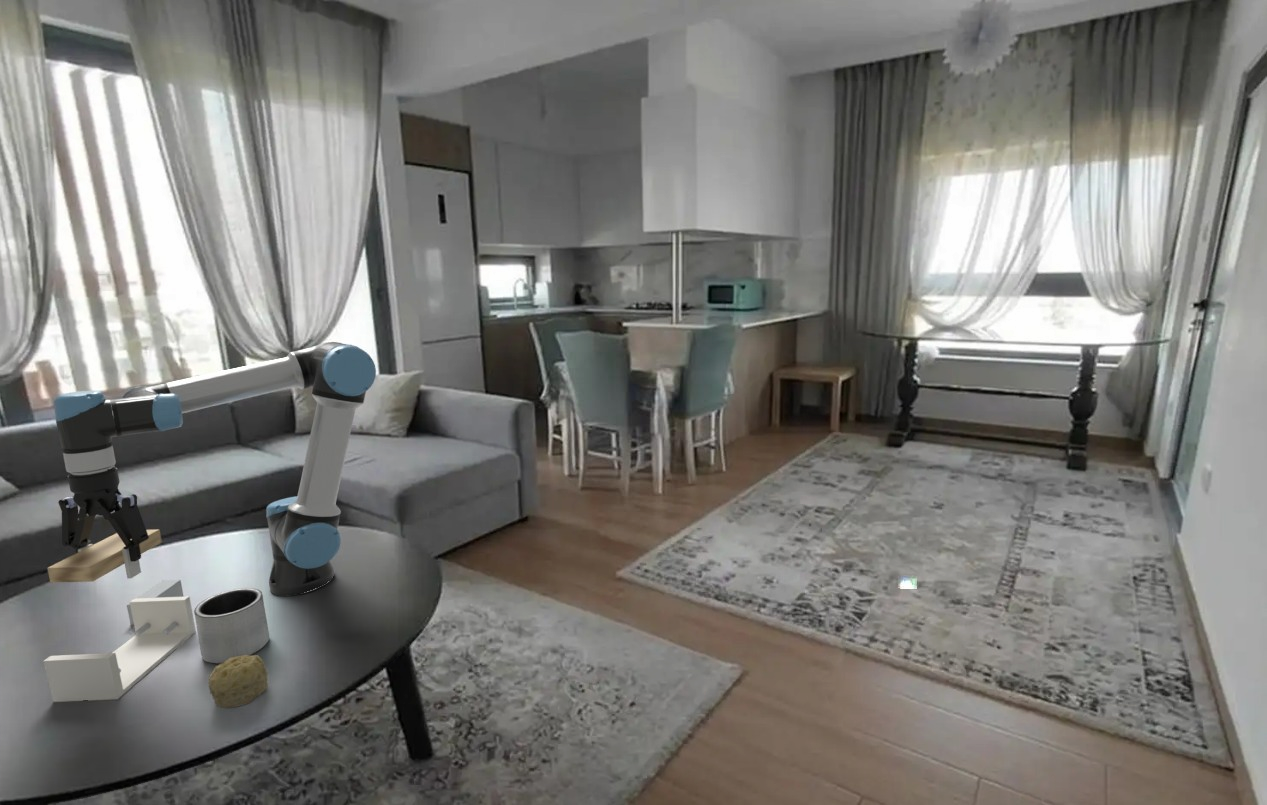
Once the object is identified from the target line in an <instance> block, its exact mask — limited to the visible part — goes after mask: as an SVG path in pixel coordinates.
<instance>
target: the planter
mask: <svg viewBox="0 0 1267 805" xmlns="http://www.w3.org/2000/svg"><path fill="white" fill-rule="evenodd" d="M193 612H194V617H195V619H194V620H195V624H196V629H197V630H196V631H197V637H198V643H199V650H200V655H201V657H202V658H201V659H203V660H204V661H205V662H206V663H207V662H208V663H211V664H218V665H219V664H221V663H223V662H225V661H226V660H228V659H229V658H231V657H237V656H239V657H240V656H242V655H249V656H252V655H255V654H256V653H257V652H259V651H260V650H261V649H263V647H264V646H265V645H266V644H267V643H268V641H269V640H270V630H269V626H268V620H267V614H266V607H265V604H264V594H263V592H262V591H261V590H260V589H258V588H253V587H241V588H234V589H230V590H226V591H221V592H219V593H217V594H214V595H212V596H210V597H208V598H206V599H204V600H202V601H201V602H200V603H199V604H197V605H196V607H194V611H193Z"/></svg>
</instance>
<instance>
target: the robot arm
mask: <svg viewBox="0 0 1267 805" xmlns="http://www.w3.org/2000/svg"><path fill="white" fill-rule="evenodd" d="M376 370H377V369H376V364H375V361H374V360H373V358H372V357H371V356H370V354H369V353H368V352H367V351H365V350H363V349H362V348H360V347H359V346H356V345H353V344H349V343H348V344H347V343H342V342H337V341H336V342H335V341H330V342H329V341H328V342H324V343H320V344H317V345H313V346H310V347H306V348H302V349H299V350H294V351H290V352H288V354H287V355H286V357H282V358H277V359H273V360H267V361H262V362H259V363H254V364H249V365H245V366H239V367H235V368H231V369H230V368H229V369H224V370H221V371H220V370H219V371H216V372H212V373H206V374H202V375H197V376H193V377H187V378H183V379H179V380H174V381H169V382H168V381H167V382H166V383H160V384H156V385H150V386H147V385H146V386H144V385H142V386H136V387H132V388H130V389H129V390H127V391H126V392H125V393H124V394H123V396H122V398H115V399H106V397H105V396H104V393H103V392H102V391H100V390H80V391H79V390H78V391H72V392H65V393H61V394H58V395H56V397H55V398H54V399H53V407H54V416H55V423H56V427H57V428H56V429H57V433H58V436H59V441H60V445H61V449H62V455H63V461H64V466H65V471H66V472H67V473H69V474H68V475H67V480H68V486H69V491H70V492H71V493H73V495H70V496H67V497H64V498H61V499H59V500H58V503H57V504H58V505H59V506H58V507H59V508H60V511H61V541H62V542H61V543H62V546H64V547H68V546H69V547H71V548H73V549H74V551H75V554H76V553H78V552H80V551H82V550H84V549H86V548H88V547H90V546H92V545H94V544H93V543H91V542H92V540H90V536H91V533H92V530H93V526H94V522H95V518H96V516H102V517H103V519H104V520H106V521H108V522H109V523H110V525H111V527H112V528H113V529H114V532H116V533H117V534H118V535H119V537H120V538H121V540H122V541H123V543H124V544H125V547H123V548H122V553H123V558H124V563H125V564H124V567H125V573H126V577H127V579H128V580H129V579H132V578H134V577H136V576H138V575H139V574H141V573H142V570H141V569H142V568H141V563H140V559H142V554H141V552H140V546H139V544H140V543H142V542H144V541H145V540H147V539H148V538H149V536H148V533H147V531H146V530H147V528H146V525H145V522H144V521H143V518H142V515H141V513H140V510H139V509H140V508H139V507H138V496H137V494H133V493H132V494H131V495H125V494H122V493H121V492H120V489H119V484H120V477H119V476H120V475H119V472H118V468H117V467H116V466H115V465H116V463H117V461H116V456H115V452H114V447H113V445H114V444H113V440H112V439H113V437H123V436H130V435H137V434H145V433H154V432H165V431H167V430H173V429H178V428H181V427H182V426H183V423H184V420H183V419H184V418H183V414H187V413H190V412H194V411H199V410H202V409H206V408H210V407H211V408H212V407H216V406H220V405H224V404H228V403H231V402H232V403H233V402H236V401H241V400H244V399H245V400H246V399H250V398H253V397H259V396H262V395H266V394H269V393H273V392H278V391H283V390H288V389H291V388H298V389H300V390H304V389H308V388H312V391H311V396H312V397H313V399H314V400H315V402H316V406H315V410H314V416H313V420H312V421H313V422H312V425H311V430H310V434H309V440H308V445H307V450H306V453H305V459H304V462H303V463H304V464H303V468H302V473H301V477H300V478H301V479H300V482H299V487H298V492H297V496H290V497H286V498H282V499H278V500H275V501H273V502H271V503H269V504H268V505H267V506H266V511H265V512H266V516H265V517H266V519H267V525H268V529H269V530H268V531H269V538H270V539H269V540H270V545H271V552H272V559H273V561H272V566H271V571H270V573H269V574H270V575H269V579H268V587H269V591H270V592H271V593H272V594H274V595H276V596H281V595H284V596H286V595H291V596H296V595H295V594H299V595H302V594H301V593H304V592H307V591H310V590H313V589H315V588H318V587H320V586H322V585H324V584H326V583H327V582H328V581H330V580H331V579H332V577H333V576H334V577H335V570H334V566H333V564H332V562H331V561H332V560H333V559H334V558H335V556H336V555H337V554H338V552H339V551H340V548H341V544H342V543H341V542H342V541H341V535H340V532H339V530H338V528H339V523H340V516H341V513H342V511H341V509H340V508H339V506H338V505H337V504H336V503H337V498H338V495H339V494H338V493H339V491H340V490H339V489H340V485H341V480H342V475H343V470H344V464H345V461H346V460H345V459H346V456H347V452H348V447H349V442H350V436H351V432H352V427H353V422H354V418H355V413H356V410H357V408H359V407H360V406H363V405H364V404H365V403H364V402H365V397H366V393H367V391H368V390H369V389H370V388H371V387H372V386H373V384H374V383H375V379H376V374H377V371H376ZM332 580H333V579H332ZM332 580H331V581H332ZM331 581H330V582H331ZM326 585H327V584H326ZM304 594H305V593H304Z"/></svg>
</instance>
